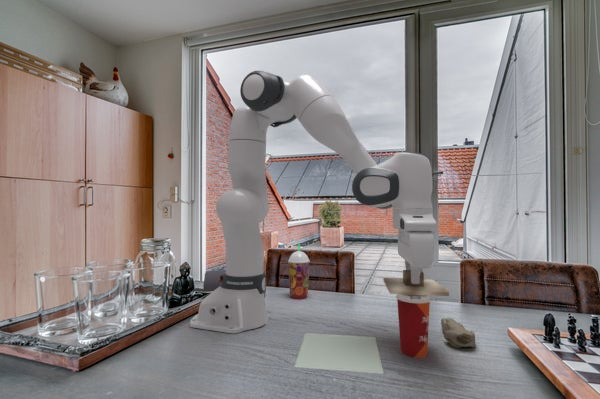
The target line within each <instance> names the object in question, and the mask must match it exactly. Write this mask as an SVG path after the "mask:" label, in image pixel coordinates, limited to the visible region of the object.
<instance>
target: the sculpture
mask: <svg viewBox="0 0 600 399" xmlns="http://www.w3.org/2000/svg"><path fill="white" fill-rule="evenodd" d="M440 325H441V329H442V332H443V338H444V340H445V341H446V342H448V343H449V344H450V345H451V346H452V347H453V348H456V349H461V348H462V347H463V348H464V347H465V348H468V347H470V348H472V349H474V348H475V349H476V347H477V344H476V334H475V332H474V331H473V330H470V331H469V330H467V329H466V328H465V326H464V325H463V323H461V322H457V321H456V320H455V319H454V318H452V317H447V318H446V317H444V318H443V317H442V318H441V319H440Z"/></svg>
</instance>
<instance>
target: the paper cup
mask: <svg viewBox="0 0 600 399" xmlns="http://www.w3.org/2000/svg"><path fill="white" fill-rule="evenodd" d="M395 295H396V296H395V298H396V299H397V300H396V302H397V312H398V313H397V316H398V328H399V330H398V332H399V342H400V343H399V344H400V351H401V353H402V355H405V356H406V357H407V356H408V357H410V358H415V359H417V358H418V359H419V358H425V357H427V356H428V346H429V345H428V340H429V325H430V324H429V322H430V306H431V301H432V298H431V296H430V295H407V294H395Z"/></svg>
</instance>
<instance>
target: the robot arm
mask: <svg viewBox="0 0 600 399" xmlns="http://www.w3.org/2000/svg"><path fill="white" fill-rule="evenodd" d="M239 91H240V98H241V100H242V101H243V103H244V104H245V105H242V106H239V107H237V108H236V109H235V110H234V112H233V114H232V117H231V121H230V128H229V133H228V134H229V136H228V155H227V156H228V157H227V158H228V159H227V169H228V172H229V175H230V176H229V177H230V180H231V185H232V186H231V187H232V189H229V190H226V191H225V192H223V193H222V194H221V195H220V196H219V198H218V199H217V200H216V203H215V204H216V205H215V212H216V215H217V217H218V218H219V220H220V223H221V227H222V228H221V229H222V232H223V233H222V234H223V238H224V244H225V270H226V272H224V273H223V275H221V276H220V277H219V278H218V279H219V280H218V281H217V282H219V281H220V286H219V287H218V288H217V289H215V290H214V291H213V292H212V293H210V294H207V296H205V297H204V298H203V299H202V301H201V302H200V304H199V308H198V313H197V314H195V315H194V316H193V317H192V318H191V319H190V321H189V327H190V328H196V329H202V330H207V331H215V332H220V333H225V334H226V333H227V334H239V333H242V332H245V331H249V330H252V329H258V328H260V327H263V326H265V325H266V324H268V322H269V320H270V318H269V316H268V311H267V306H266V299H265V293H264V292H265V273H264V271H265V268H264V261H265V260H264V256H265V255H264V253H265V252H264V249H265V247H264V243H263V240H262V236H261V234H262V233H261V228H260V227H261V226H260V224H261V223H262V222H263V221H264V220H265V219H266V217H267V216H268V214H269V210H270V205H269V200H268V199H269V198H268V196H269V195H268V186H267V185H268V184H267V175H266V163H267V162H266V160H267V159H266V158H267V156H266V154H267V132H268V129H269V127H270V126H271V127H273V128H277V127H280V126H282V125H285V124H289V123H293V122H294V121H295V120H296V119H297V120H298V122H299V123H300V124H301V126H302V127H303V129H304V130H305V131H306V132H307V133H308V134H309V135H310V136H311V137H312V138H313V139H314V140H315V141H317V142H318V143H320V144H321V145H323V146H325V147H327V148H328V149H330V150H332V151H333V152H334V153H336V154H338V156H340V157H341V158H342V159H343V160H344V162H346V164H348V166H349V168H351V169H352V172H353V173H354V174H355V177H354V178H353V179H352V185H351V191H352V195H353V197H354V198H355V199H356V201H357V202H358V203H360V204H362V205H364V206H366V207H370V208H375V209H380V210H387V209H390V208H392V228H393V229H397V232H398V233H397V253H398V255H399V257H401V258H402V259H403V260H404V265H405V270H411V275H410V282H411V283H412V284H419V283H420V273H421V271H422V269H431V267H432V266H433V263H434V262H433V261H434V252H435V250H434V249H435V248H434V247H435V235H434V232H436V231H437V228H438V227H437V224H438V223H437V221H436V219H435V218H434V214H433V213H434V211H433V209H434V207H433V203H432V193H433V189H434V188H433V173H432V172H433V171H432V170H433V169H432V165H431V161H430V159H429V158H428V157H427V156H425V154H422V153H419V152H415V151H398V152H396V153H394V155H393V156H391V157H389V158H388V159H386V160H385V161H382V162H381V163H377V162H376V161H375V159H374V158H373V157H372V155H371V154H370V153H369V152H368V150H367V149H366V148H365V146H364V145H363V144H362V143H361V141H360V140H359V138H358V136H357V134H356V133H355V130H353V128H352V126H351V124H350V122H349V119H348V118H347V116H346V114H345V113H344V112H345V111H344V110H343V109H342V108H341V106H340V104H339V103H338V101H337V100H336V99H335V97H334V95H333V94H332V93H330V91H329V90H328V89H327V88H326V87H325V86H324V85H323V84H322V83H321V82H320V81H319V80H317V79H316V78H315V77H313V75H310V74H300V75H297V76H296V77H294V78H293V79H292V80H291V81H289V82H286V81H284V79H283V78H282V76H279V75H276V74H273V73H271V72H268V71H264V70H253V71H251V72H250V73H248V74H247V75H246V76H245V77H244V78H243V80H242V82H241V84H240V90H239Z"/></svg>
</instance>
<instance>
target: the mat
mask: <svg viewBox="0 0 600 399" xmlns="http://www.w3.org/2000/svg"><path fill="white" fill-rule="evenodd" d="M294 368H296V369H297V368H300V369H312V370H326V371H340V372H352V373H366V374H378V375H384V371H383V370H384V369H383V365H382V362H381V357H380V352H379V347H378V343H377V339H376V337H375V336H361V335H347V334H345V335H344V334H343V335H342V334H331V333H330V334H327V333H313V332H312V333H311V332H309V333H308V332H305V333H304V336H303V339H302V341H301V346H300V347H299V352H298V354H297V356H296V360H295V363H294Z"/></svg>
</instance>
